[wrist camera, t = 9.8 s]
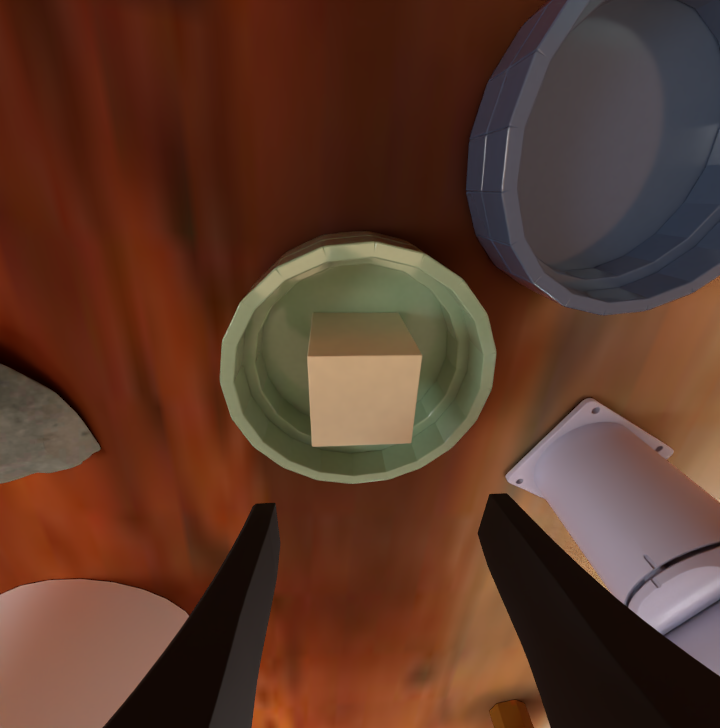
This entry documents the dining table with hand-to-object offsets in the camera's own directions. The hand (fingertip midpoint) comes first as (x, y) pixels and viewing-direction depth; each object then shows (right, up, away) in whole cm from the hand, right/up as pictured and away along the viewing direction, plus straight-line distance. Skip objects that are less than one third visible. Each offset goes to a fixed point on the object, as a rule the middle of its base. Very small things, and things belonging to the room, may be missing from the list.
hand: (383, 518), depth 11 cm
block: (-1, +6, +7) cm, 9 cm away
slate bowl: (+10, +15, +4) cm, 18 cm away
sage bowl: (-1, +6, +7) cm, 10 cm away
